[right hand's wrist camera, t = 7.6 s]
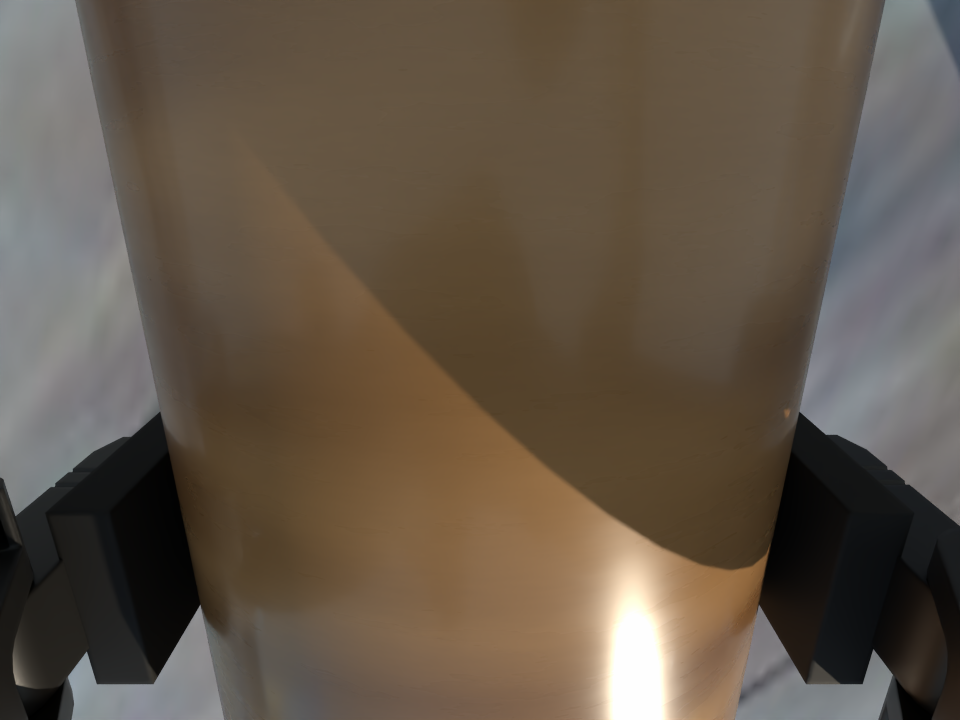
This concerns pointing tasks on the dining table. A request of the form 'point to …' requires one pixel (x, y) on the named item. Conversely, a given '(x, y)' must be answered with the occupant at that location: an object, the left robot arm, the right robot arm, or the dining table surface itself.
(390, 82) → the rod
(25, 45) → the dining table surface
